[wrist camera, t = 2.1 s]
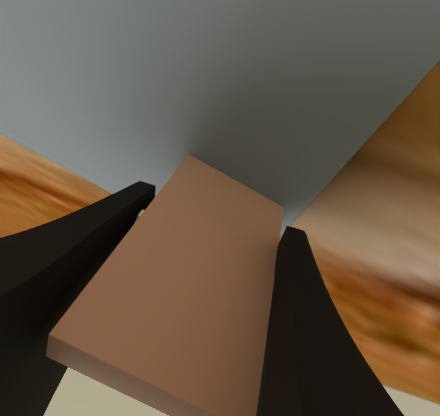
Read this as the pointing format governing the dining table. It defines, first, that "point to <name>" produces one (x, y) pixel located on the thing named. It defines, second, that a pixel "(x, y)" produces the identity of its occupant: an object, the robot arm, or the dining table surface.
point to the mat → (210, 85)
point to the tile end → (182, 300)
